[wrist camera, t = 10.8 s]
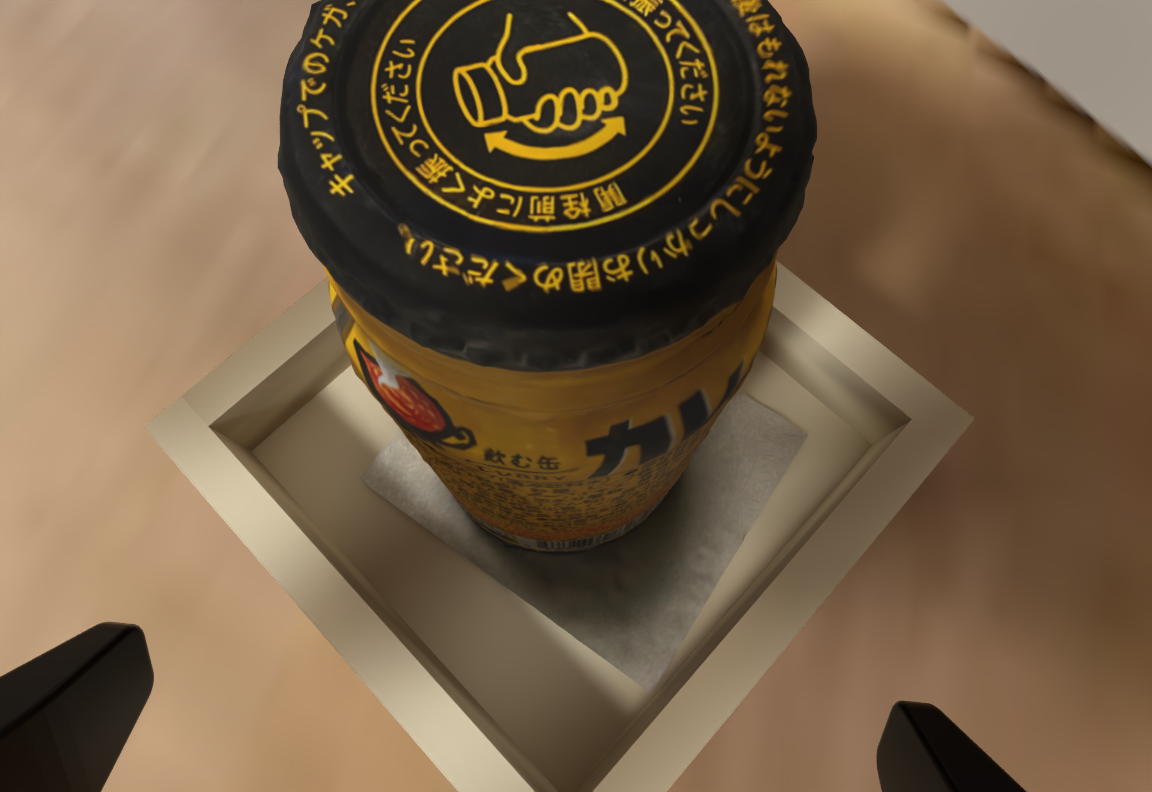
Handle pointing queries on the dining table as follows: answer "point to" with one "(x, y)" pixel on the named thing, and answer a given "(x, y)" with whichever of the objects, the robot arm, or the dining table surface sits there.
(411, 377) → the condiment
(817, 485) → the caddy
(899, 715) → the robot arm
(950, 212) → the dining table surface
